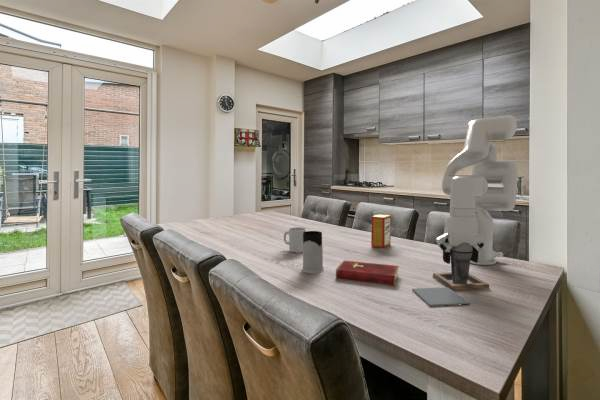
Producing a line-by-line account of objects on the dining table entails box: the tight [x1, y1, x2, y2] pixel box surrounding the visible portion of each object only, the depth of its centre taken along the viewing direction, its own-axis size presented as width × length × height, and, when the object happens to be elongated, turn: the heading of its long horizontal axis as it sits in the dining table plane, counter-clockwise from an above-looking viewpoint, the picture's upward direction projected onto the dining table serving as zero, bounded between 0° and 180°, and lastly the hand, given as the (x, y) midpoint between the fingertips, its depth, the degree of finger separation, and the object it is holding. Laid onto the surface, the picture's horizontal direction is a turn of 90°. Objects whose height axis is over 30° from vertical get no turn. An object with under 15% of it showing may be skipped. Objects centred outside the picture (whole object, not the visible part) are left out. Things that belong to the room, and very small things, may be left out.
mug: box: [283, 226, 307, 254], centre depth 153 cm, size 12×8×11 cm
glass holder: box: [301, 230, 325, 274], centre depth 125 cm, size 9×14×15 cm, turn 160°
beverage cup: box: [449, 243, 473, 284], centre depth 106 cm, size 7×7×20 cm
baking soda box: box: [370, 213, 392, 249], centre depth 159 cm, size 10×6×16 cm
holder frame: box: [432, 271, 490, 291], centre depth 107 cm, size 13×13×2 cm
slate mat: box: [411, 286, 471, 307], centre depth 95 cm, size 12×12×1 cm
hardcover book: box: [335, 259, 400, 287], centre depth 114 cm, size 12×21×4 cm, turn 68°
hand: (460, 262), depth 106 cm, fingers open, 9 cm apart
